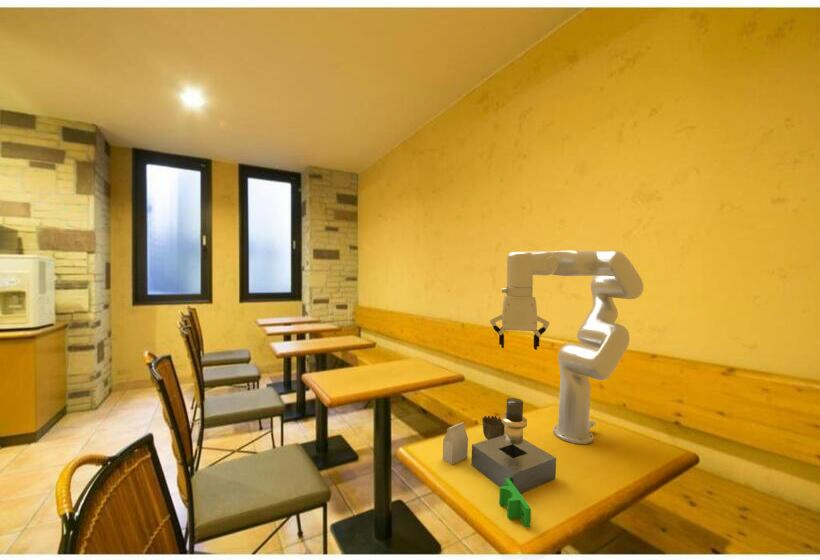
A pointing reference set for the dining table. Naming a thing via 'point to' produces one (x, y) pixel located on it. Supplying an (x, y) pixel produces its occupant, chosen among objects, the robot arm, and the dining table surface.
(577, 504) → the dining table surface
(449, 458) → the tan milk carton
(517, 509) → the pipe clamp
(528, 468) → the plate
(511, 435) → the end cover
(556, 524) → the dining table surface
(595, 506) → the dining table surface
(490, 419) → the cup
